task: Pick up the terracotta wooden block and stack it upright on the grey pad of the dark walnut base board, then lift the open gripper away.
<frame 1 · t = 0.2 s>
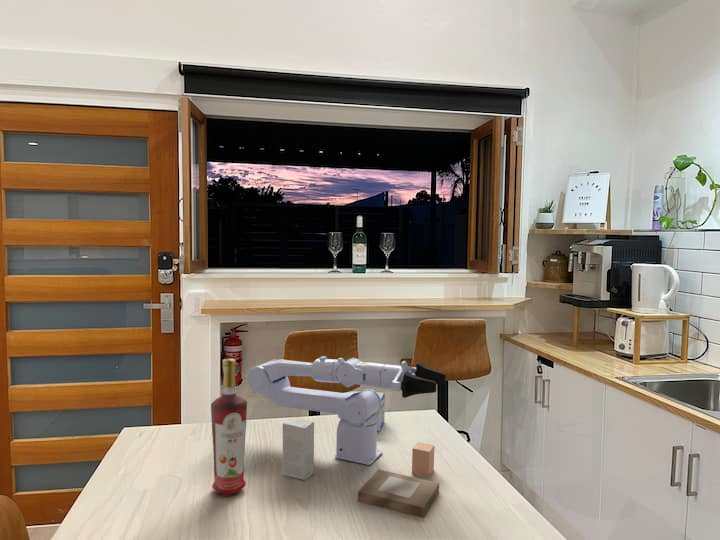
hand: (440, 382, 118), 21 cm above the table, tool horizontal, fingers open, 7 cm apart
liquor: (229, 491, 110), on the table
skincare box: (298, 475, 118), on the table
terracotta block: (422, 471, 120), on the table
medicine box: (374, 426, 148), on the table
base board: (399, 496, 109), on the table
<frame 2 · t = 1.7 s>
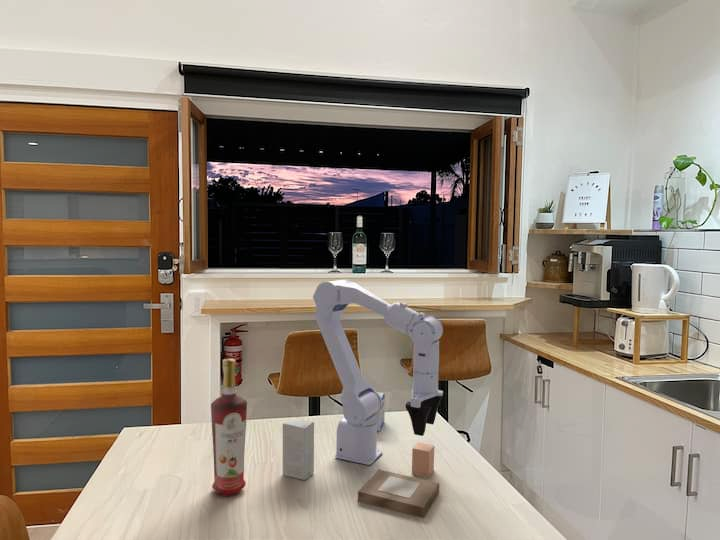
hand: (424, 428, 119), 10 cm above the table, tool pointing down, fingers open, 7 cm apart
nothing on the table moved.
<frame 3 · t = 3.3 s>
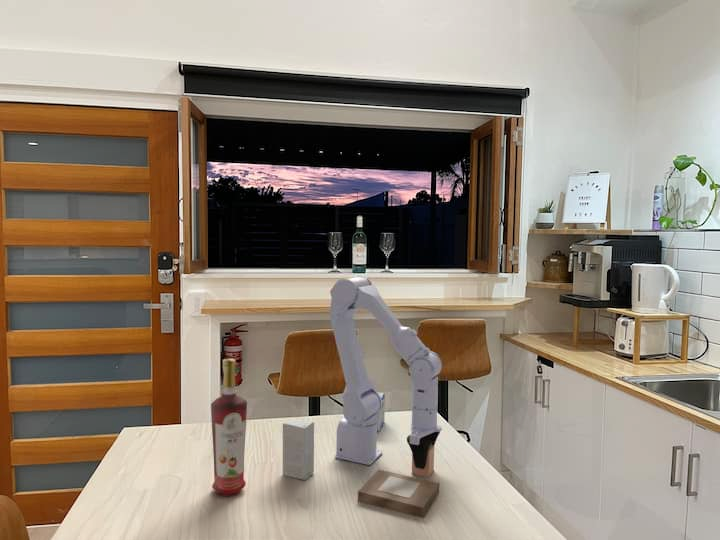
hand: (423, 463, 120), 2 cm above the table, tool pointing down, fingers closed on terracotta block, 4 cm apart
terracotta block: (422, 471, 120), on the table, touching gripper
everything else where it was.
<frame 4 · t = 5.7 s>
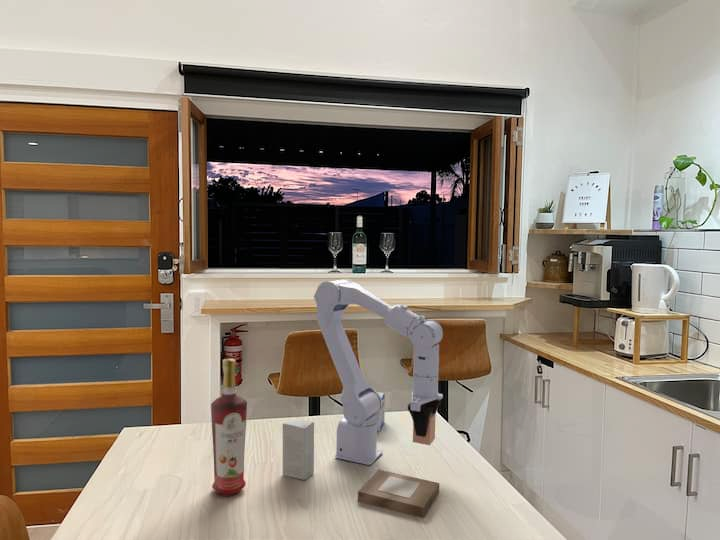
hand: (423, 432, 120), 9 cm above the table, tool pointing down, fingers closed on terracotta block, 4 cm apart
terracotta block: (423, 440, 120), point 7 cm above the table, touching gripper
everything else where it was.
when the fingers open (5 cm above the table, at t = 8.4 s): terracotta block drops 1 cm, resting on base board.
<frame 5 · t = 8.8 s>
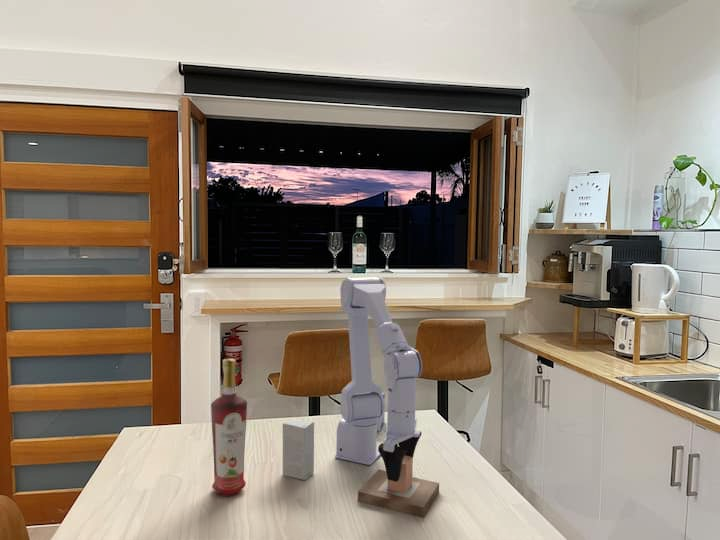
hand: (399, 472, 108), 5 cm above the table, tool pointing down, fingers open, 7 cm apart
terracotta block: (399, 486, 109), point 2 cm above the table, touching base board
everything else where it was.
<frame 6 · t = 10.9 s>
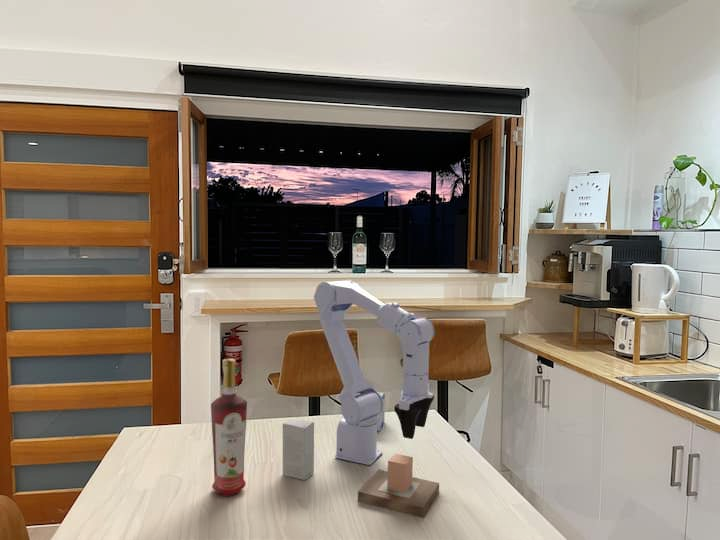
hand: (414, 431, 117), 10 cm above the table, tool pointing down, fingers open, 7 cm apart
nothing on the table moved.
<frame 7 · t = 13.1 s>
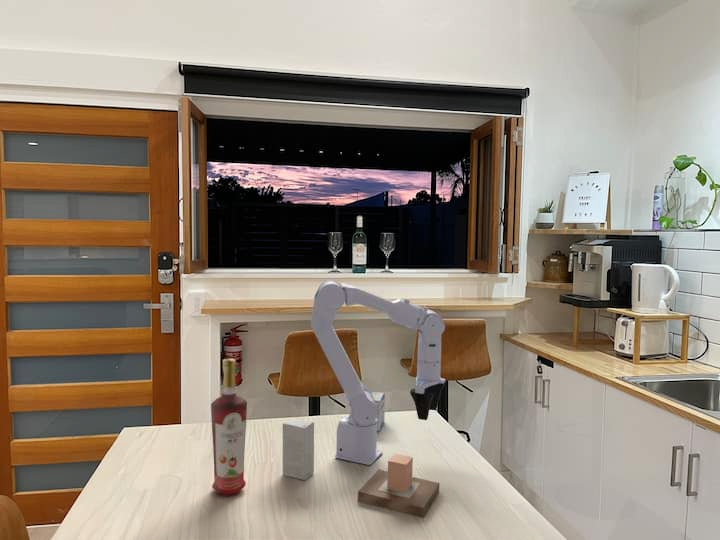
hand: (427, 414, 128), 10 cm above the table, tool pointing down, fingers open, 7 cm apart
nothing on the table moved.
at the end: terracotta block 0.1 cm off-centre on the base board, point 2.1 cm above the base board's base; terracotta block tilted 0°; the gripper is holding nothing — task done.
